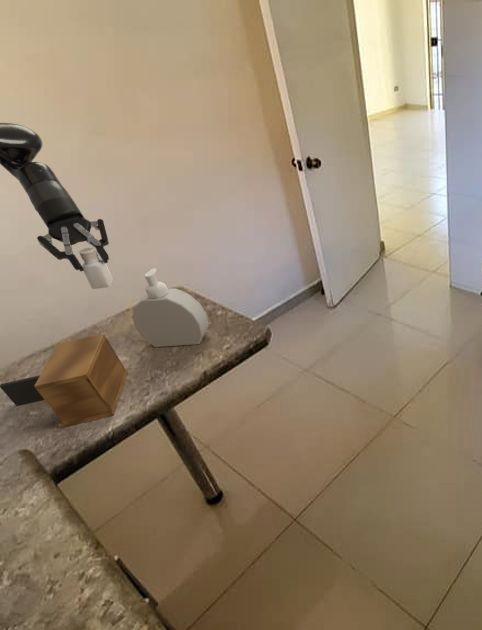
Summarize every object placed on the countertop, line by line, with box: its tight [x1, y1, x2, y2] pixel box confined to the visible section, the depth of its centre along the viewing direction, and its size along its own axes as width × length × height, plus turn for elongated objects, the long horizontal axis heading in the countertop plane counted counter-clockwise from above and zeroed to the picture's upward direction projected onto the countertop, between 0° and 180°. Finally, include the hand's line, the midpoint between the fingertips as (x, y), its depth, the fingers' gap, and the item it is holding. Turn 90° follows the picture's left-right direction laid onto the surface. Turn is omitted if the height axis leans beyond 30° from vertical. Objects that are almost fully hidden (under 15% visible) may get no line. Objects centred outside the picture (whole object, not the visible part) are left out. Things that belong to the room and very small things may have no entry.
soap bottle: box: [131, 267, 210, 348], centre depth 107 cm, size 16×5×20 cm, turn 93°
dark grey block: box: [0, 374, 45, 407], centre depth 90 cm, size 10×7×9 cm
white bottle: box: [78, 247, 114, 290], centre depth 105 cm, size 4×4×10 cm
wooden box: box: [34, 333, 128, 429], centre depth 94 cm, size 10×14×12 cm
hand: (94, 265), depth 103 cm, fingers closed on white bottle, 4 cm apart
